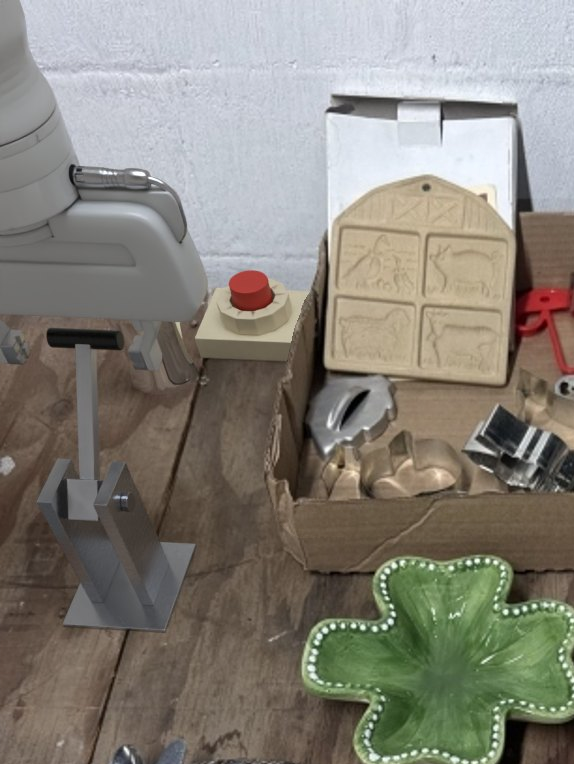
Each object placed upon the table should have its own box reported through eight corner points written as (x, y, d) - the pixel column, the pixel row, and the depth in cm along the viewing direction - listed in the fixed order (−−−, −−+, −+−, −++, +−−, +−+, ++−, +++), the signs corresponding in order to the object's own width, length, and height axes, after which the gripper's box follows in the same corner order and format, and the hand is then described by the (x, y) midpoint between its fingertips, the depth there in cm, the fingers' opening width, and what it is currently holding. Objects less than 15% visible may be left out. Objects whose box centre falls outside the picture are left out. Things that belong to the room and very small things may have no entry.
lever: (58, 330, 76) (41, 324, 73) (128, 333, 75) (112, 327, 73) (65, 518, 78) (48, 518, 76) (132, 521, 78) (117, 521, 75)
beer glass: (190, 409, 97) (136, 257, 85) (117, 402, 98) (53, 250, 85) (215, 361, 101) (167, 209, 89) (145, 355, 102) (88, 203, 89)
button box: (200, 358, 101) (188, 321, 98) (221, 307, 106) (210, 270, 103) (304, 362, 101) (295, 325, 98) (321, 311, 105) (313, 274, 102)
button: (229, 311, 99) (224, 292, 98) (239, 288, 101) (233, 269, 100) (267, 313, 99) (262, 293, 98) (276, 290, 101) (271, 270, 100)
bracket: (104, 548, 87) (47, 435, 78) (199, 553, 87) (155, 440, 77) (67, 634, 82) (2, 524, 73) (169, 639, 82) (117, 530, 72)
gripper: (185, 142, 64) (241, 340, 75) (-143, 131, 65) (-39, 328, 77) (155, 200, 61) (218, 398, 72) (-191, 187, 62) (-75, 385, 73)
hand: (83, 362), depth 74 cm, fingers open, 8 cm apart
